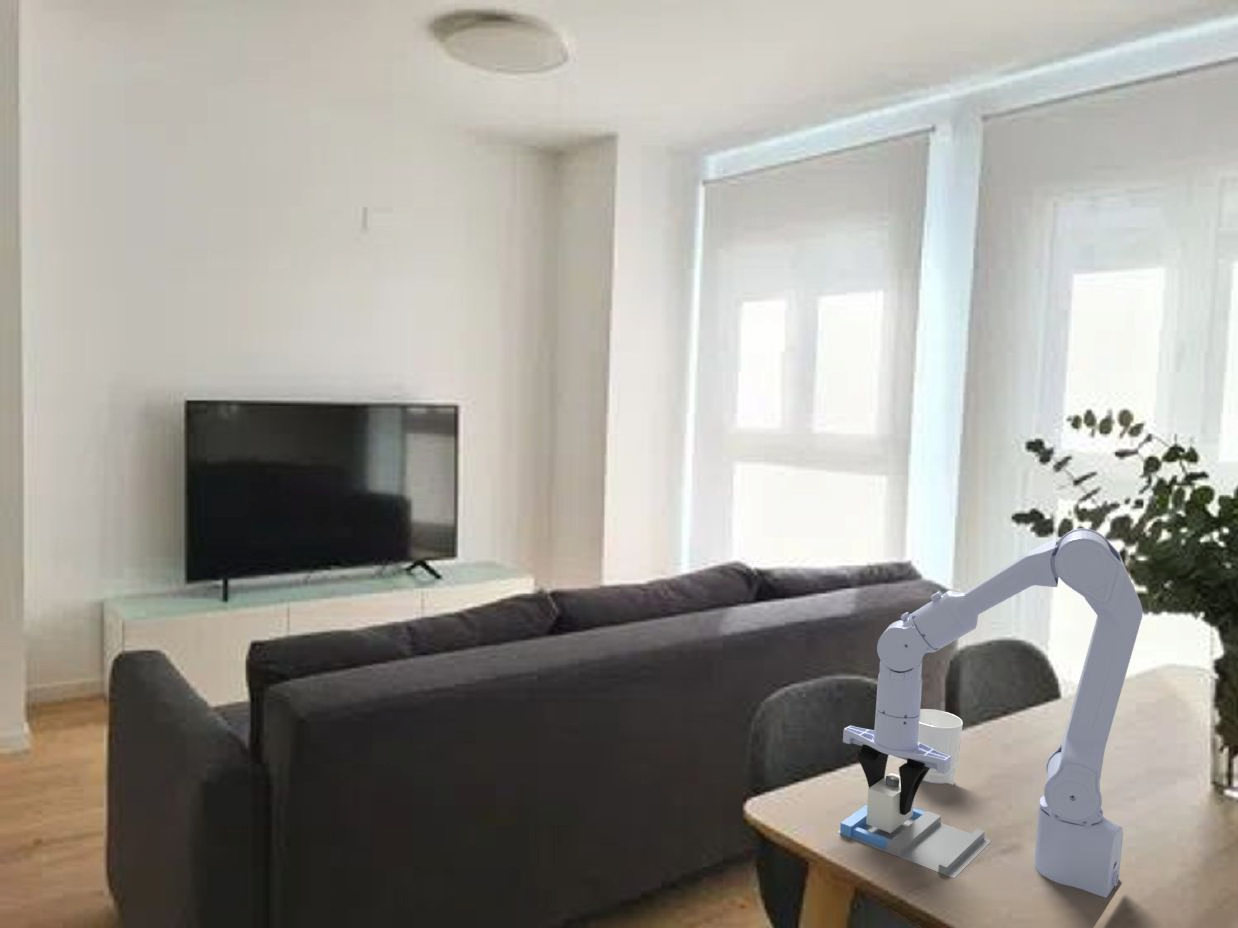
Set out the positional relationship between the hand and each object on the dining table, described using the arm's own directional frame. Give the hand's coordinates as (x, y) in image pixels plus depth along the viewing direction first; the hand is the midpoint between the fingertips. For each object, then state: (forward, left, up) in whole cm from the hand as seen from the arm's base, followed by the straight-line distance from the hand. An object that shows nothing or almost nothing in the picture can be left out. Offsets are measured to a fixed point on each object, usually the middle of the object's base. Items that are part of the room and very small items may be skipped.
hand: (890, 806), depth 126 cm
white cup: (+3, -21, -4) cm, 22 cm away
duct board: (-3, 0, -4) cm, 5 cm away
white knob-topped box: (0, 0, -2) cm, 2 cm away
